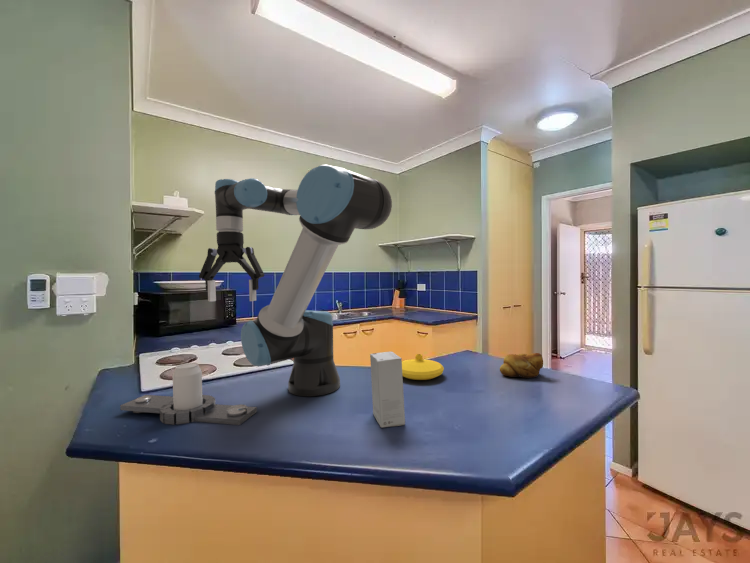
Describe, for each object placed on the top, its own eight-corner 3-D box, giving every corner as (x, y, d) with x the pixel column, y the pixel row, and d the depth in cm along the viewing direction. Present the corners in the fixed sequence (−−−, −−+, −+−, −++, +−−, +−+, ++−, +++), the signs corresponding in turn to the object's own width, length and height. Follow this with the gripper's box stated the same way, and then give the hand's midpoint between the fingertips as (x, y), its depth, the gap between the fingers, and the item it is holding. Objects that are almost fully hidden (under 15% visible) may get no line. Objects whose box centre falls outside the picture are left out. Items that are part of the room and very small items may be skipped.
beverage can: (185, 408, 83) (183, 361, 83) (208, 408, 83) (206, 361, 82) (167, 418, 77) (165, 369, 77) (192, 419, 76) (190, 369, 76)
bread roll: (504, 380, 99) (504, 354, 99) (493, 370, 109) (493, 347, 109) (546, 380, 99) (546, 354, 98) (532, 370, 108) (532, 346, 108)
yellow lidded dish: (384, 376, 105) (384, 355, 105) (416, 366, 116) (416, 347, 116) (422, 388, 94) (422, 364, 93) (453, 376, 104) (453, 354, 104)
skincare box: (405, 425, 71) (404, 358, 71) (379, 429, 70) (377, 360, 69) (394, 410, 79) (393, 349, 79) (370, 412, 78) (369, 351, 77)
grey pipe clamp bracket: (262, 408, 82) (261, 396, 82) (233, 430, 71) (232, 416, 71) (153, 400, 89) (153, 389, 89) (111, 419, 77) (110, 406, 77)
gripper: (274, 232, 101) (276, 299, 101) (201, 235, 104) (203, 300, 105) (262, 228, 93) (264, 301, 94) (184, 232, 97) (187, 302, 97)
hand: (232, 301), depth 99 cm, fingers open, 13 cm apart
